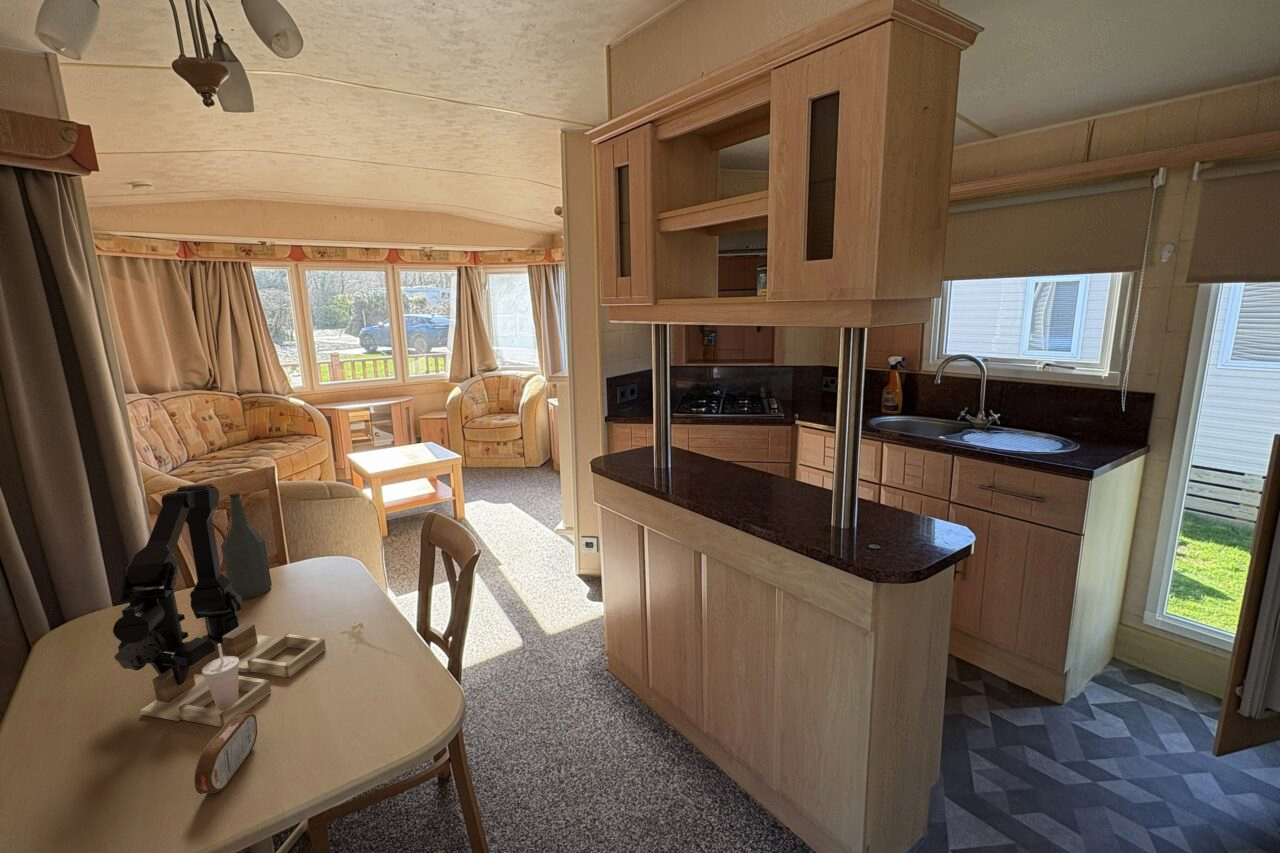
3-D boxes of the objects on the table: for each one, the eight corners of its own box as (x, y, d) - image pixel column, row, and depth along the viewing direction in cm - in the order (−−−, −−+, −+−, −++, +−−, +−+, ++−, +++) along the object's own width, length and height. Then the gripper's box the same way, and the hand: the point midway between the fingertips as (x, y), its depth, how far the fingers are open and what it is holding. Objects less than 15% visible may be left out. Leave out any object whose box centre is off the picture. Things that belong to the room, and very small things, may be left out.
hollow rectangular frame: (212, 667, 137) (208, 643, 135) (256, 638, 148) (252, 616, 147) (288, 678, 132) (284, 654, 131) (327, 648, 143) (324, 625, 142)
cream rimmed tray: (141, 714, 121) (135, 688, 120) (196, 677, 133) (191, 653, 131) (223, 729, 117) (218, 702, 115) (273, 690, 128) (268, 665, 127)
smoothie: (253, 696, 127) (243, 637, 123) (230, 717, 120) (219, 656, 117) (225, 695, 127) (214, 636, 124) (201, 716, 121) (189, 654, 118)
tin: (246, 740, 114) (239, 702, 112) (264, 739, 114) (257, 701, 113) (196, 806, 99) (187, 763, 98) (216, 805, 100) (207, 762, 98)
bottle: (226, 592, 172) (208, 493, 165) (264, 580, 179) (249, 484, 172) (236, 604, 165) (218, 501, 158) (276, 591, 172) (260, 492, 165)
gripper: (82, 632, 117) (99, 701, 120) (157, 643, 113) (173, 715, 116) (140, 603, 127) (154, 668, 131) (211, 613, 123) (223, 679, 127)
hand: (174, 682), depth 126 cm, fingers closed on cream rimmed tray, 3 cm apart
